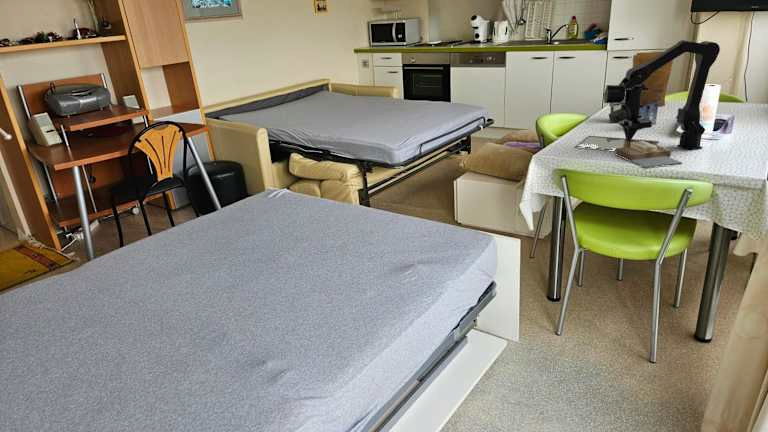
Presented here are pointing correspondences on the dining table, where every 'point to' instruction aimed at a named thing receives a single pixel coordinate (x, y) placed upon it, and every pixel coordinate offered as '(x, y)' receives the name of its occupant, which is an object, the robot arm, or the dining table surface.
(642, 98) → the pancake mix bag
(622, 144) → the rectangular mirror
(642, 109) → the vhs cassette tape
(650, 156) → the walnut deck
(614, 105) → the food container
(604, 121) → the dining table surface
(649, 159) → the rubber mat
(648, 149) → the maple tile
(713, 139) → the dining table surface
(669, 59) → the robot arm
